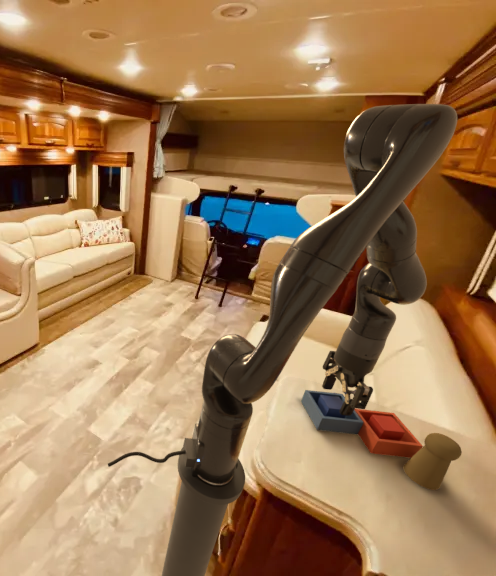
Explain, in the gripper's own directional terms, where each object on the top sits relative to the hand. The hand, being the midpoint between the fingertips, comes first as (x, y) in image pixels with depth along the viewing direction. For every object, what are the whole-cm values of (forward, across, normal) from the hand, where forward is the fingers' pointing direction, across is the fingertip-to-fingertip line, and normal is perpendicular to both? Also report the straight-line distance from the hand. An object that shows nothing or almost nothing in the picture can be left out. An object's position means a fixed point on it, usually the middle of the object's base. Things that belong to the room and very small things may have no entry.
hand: (335, 400), depth 79 cm
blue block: (+5, 0, 0) cm, 5 cm away
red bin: (+6, +5, +10) cm, 12 cm away
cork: (+6, +14, +12) cm, 20 cm away
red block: (+5, +5, +10) cm, 12 cm away
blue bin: (+6, 0, 0) cm, 6 cm away
